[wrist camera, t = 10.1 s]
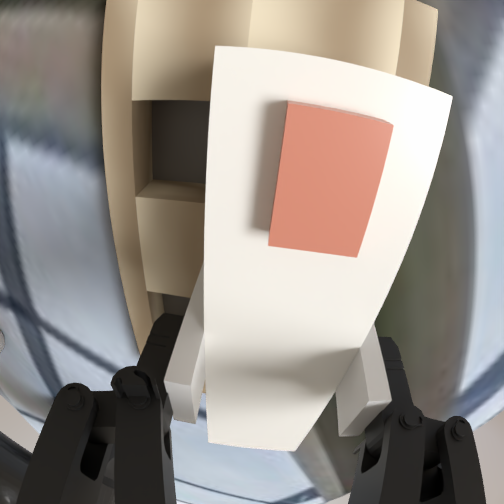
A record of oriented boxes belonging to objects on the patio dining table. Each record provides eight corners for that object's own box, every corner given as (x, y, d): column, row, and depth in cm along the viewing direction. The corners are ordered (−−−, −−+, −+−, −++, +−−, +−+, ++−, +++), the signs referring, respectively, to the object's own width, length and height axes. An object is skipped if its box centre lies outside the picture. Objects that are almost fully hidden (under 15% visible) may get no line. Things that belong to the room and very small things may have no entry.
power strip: (224, 351, 21) (206, 451, 14) (249, 58, 11) (208, 43, 4) (295, 360, 21) (294, 460, 14) (368, 79, 11) (467, 100, 4)
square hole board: (156, 358, 24) (148, 381, 22) (134, -12, 9) (109, -21, 7) (311, 379, 24) (312, 404, 22) (414, 16, 9) (438, 9, 7)
